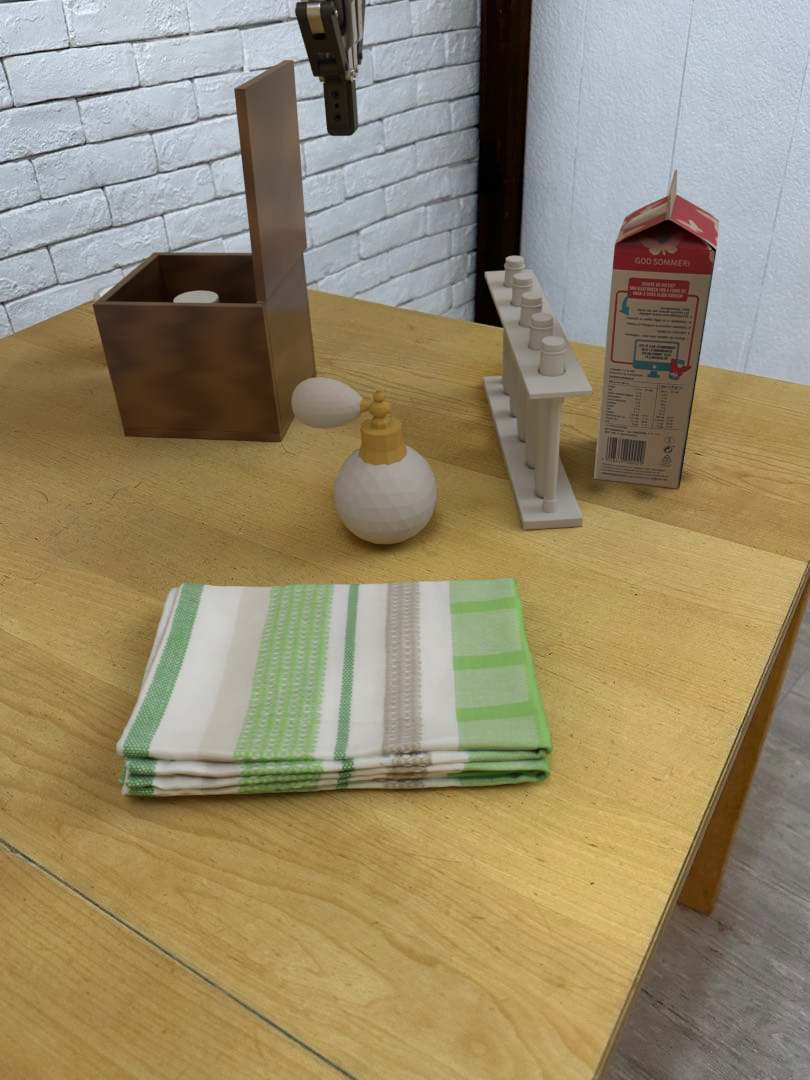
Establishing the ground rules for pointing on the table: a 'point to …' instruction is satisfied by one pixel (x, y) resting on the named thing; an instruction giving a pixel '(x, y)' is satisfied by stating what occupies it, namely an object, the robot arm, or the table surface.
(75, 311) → the table surface
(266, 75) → the lid
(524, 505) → the test tube rack
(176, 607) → the dish towel
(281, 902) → the table surface
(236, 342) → the chest
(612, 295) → the juice carton
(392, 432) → the perfume bottle
